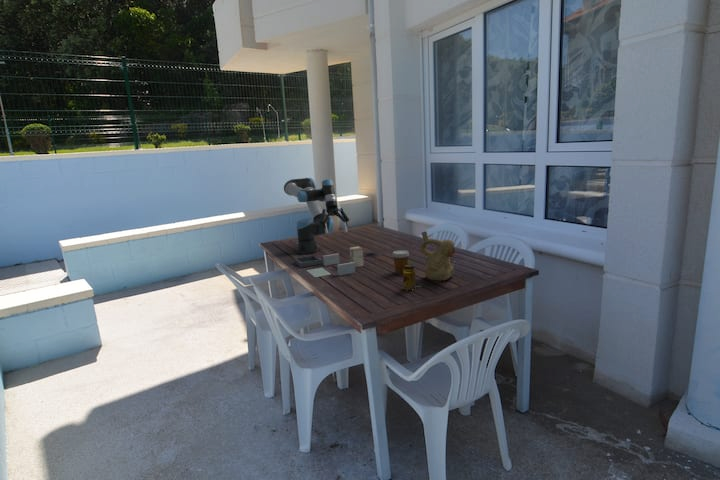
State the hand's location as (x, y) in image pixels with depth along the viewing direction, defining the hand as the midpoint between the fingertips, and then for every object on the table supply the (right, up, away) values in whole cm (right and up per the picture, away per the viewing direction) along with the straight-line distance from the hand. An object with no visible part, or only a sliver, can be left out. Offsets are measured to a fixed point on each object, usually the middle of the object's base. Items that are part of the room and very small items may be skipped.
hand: (336, 232), depth 278 cm
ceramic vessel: (+58, -25, -47) cm, 79 cm away
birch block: (+13, -20, -16) cm, 29 cm away
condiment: (+41, -29, -61) cm, 79 cm away
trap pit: (-18, -20, -6) cm, 27 cm away
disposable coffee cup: (+39, -23, -35) cm, 57 cm away
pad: (-9, -24, -26) cm, 37 cm away
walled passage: (+3, -22, -21) cm, 31 cm away
